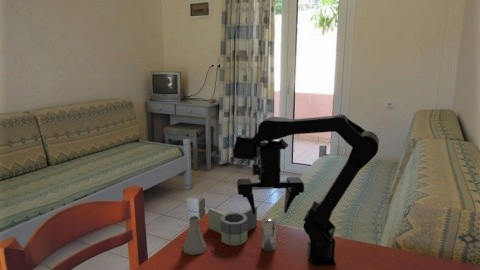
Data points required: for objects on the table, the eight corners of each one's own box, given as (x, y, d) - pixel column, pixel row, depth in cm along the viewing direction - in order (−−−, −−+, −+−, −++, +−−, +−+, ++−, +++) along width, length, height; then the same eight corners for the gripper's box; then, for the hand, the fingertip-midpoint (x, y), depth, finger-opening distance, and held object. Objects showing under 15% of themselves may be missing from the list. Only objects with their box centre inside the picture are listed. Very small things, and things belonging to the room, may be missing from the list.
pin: (274, 243, 108) (274, 216, 106) (276, 250, 104) (277, 222, 102) (261, 244, 108) (261, 217, 105) (263, 251, 104) (263, 223, 102)
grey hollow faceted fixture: (235, 248, 105) (235, 226, 104) (216, 239, 110) (215, 218, 109) (265, 229, 116) (265, 210, 115) (246, 222, 121) (246, 203, 120)
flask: (205, 255, 102) (204, 224, 99) (180, 255, 102) (179, 223, 99) (208, 242, 109) (207, 212, 106) (184, 242, 109) (183, 212, 106)
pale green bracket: (252, 237, 111) (252, 217, 110) (235, 248, 105) (235, 226, 104) (218, 223, 121) (218, 204, 119) (201, 232, 115) (200, 212, 113)
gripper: (296, 153, 108) (294, 200, 112) (235, 155, 107) (235, 203, 110) (305, 164, 97) (303, 216, 101) (238, 166, 96) (238, 219, 99)
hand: (269, 213), depth 103 cm, fingers open, 9 cm apart
